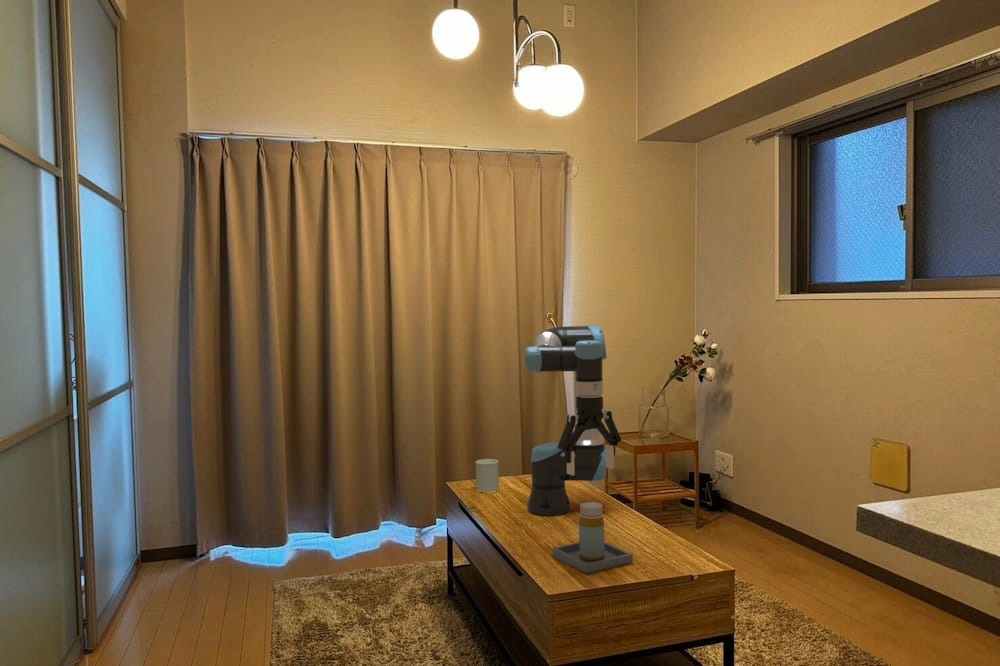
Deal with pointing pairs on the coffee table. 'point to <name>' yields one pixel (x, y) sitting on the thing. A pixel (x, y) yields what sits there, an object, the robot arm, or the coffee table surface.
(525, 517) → the coffee table surface
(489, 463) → the can
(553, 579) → the coffee table surface
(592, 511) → the bottle
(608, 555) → the tray
